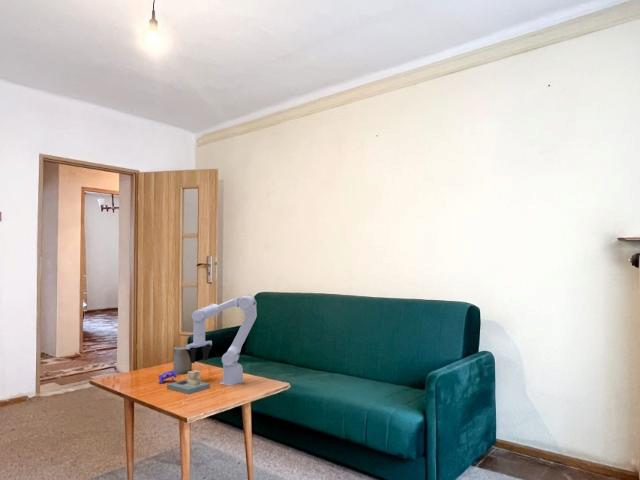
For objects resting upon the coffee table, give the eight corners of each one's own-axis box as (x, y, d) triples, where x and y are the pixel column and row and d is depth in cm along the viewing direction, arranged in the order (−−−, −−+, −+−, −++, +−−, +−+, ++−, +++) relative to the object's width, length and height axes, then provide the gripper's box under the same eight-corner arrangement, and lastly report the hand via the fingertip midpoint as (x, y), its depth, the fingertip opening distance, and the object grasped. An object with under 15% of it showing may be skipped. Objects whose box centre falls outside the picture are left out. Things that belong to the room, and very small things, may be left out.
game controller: (156, 379, 204) (155, 370, 213) (161, 394, 206) (160, 384, 215) (177, 371, 208) (175, 363, 217) (182, 385, 210) (180, 377, 219)
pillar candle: (193, 370, 238) (193, 343, 239) (189, 374, 228) (189, 346, 229) (175, 370, 237) (176, 343, 238) (170, 375, 227) (171, 346, 228)
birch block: (194, 383, 200) (194, 370, 201) (200, 384, 198) (200, 371, 199) (187, 385, 197) (187, 371, 198) (193, 386, 195) (193, 373, 195)
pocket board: (188, 383, 209) (188, 378, 209) (209, 389, 200) (209, 383, 200) (166, 389, 199) (167, 383, 200) (188, 395, 190) (188, 389, 190)
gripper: (205, 331, 221) (205, 358, 220) (182, 335, 209) (181, 363, 208) (214, 332, 216) (214, 359, 216) (191, 336, 205) (190, 365, 204)
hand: (199, 361), depth 211 cm, fingers open, 7 cm apart
